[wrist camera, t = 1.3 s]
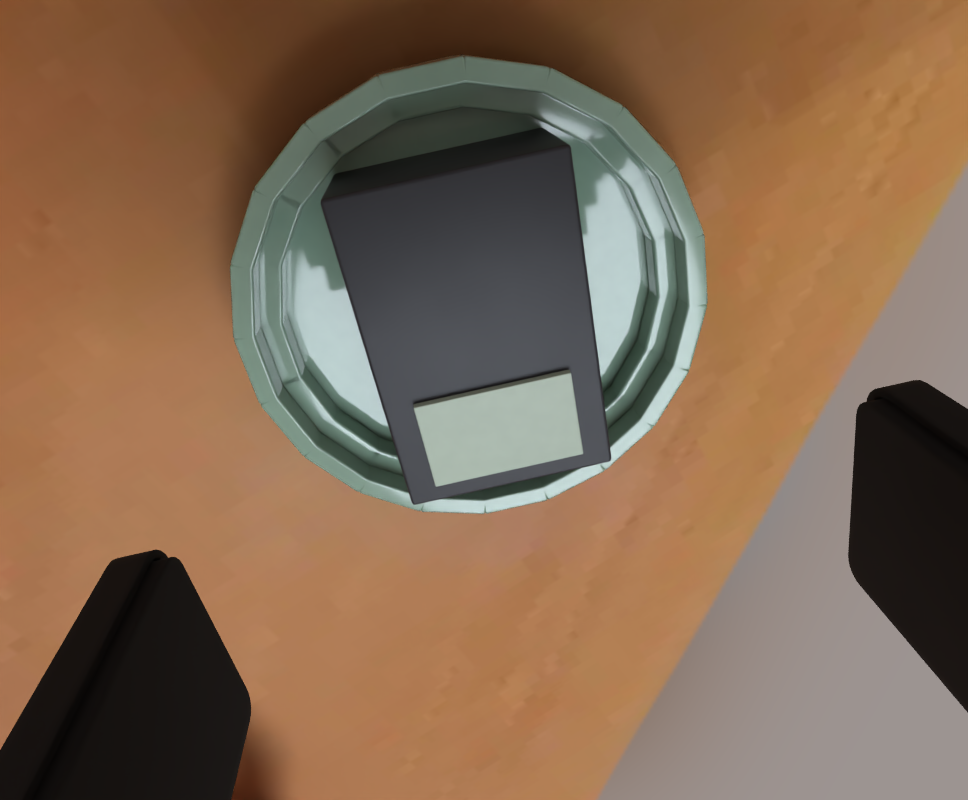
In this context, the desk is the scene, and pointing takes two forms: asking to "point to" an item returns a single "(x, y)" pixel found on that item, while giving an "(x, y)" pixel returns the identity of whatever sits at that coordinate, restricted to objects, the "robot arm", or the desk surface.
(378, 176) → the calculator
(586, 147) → the plant saucer
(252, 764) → the desk surface
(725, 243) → the desk surface
